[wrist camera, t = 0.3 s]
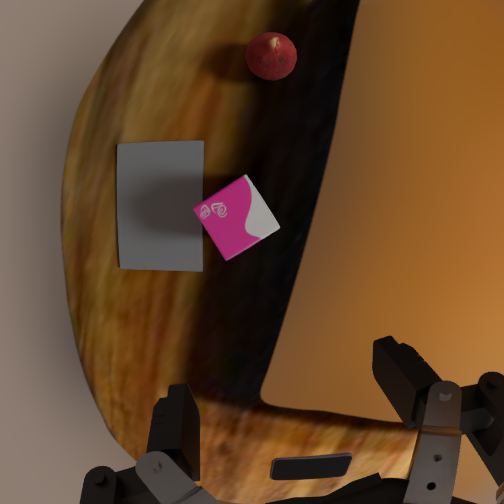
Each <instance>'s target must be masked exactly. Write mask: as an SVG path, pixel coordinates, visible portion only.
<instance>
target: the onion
mask: <svg viewBox="0 0 504 504" xmlns="http://www.w3.org/2000/svg"><path fill="white" fill-rule="evenodd" d="M245 60H246V62H247V64H248V67H249V69H250V70H251V71H252V72H253V73H254V74H255V75H256V76H258V77H260V78H262V79H266V80H278V79H281V78H284V77H285V76H287V75H288V74H289V73H290V72H291V71H292V70H293V69H294V66H295V63H296V60H297V54H296V48H295V47H294V45H293V43H292V42H291V41H290V40H289V39H288V38H287V37H286V36H285V35H282V34H279V33H269V32H267V33H264V34H261V35H258V36H257V37H255V38H254V39H253V40H252V41H250V43H249V45H248V47H247V48H246V51H245Z"/></svg>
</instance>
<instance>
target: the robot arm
mask: <svg viewBox="0 0 504 504" xmlns="http://www.w3.org/2000/svg"><path fill="white" fill-rule="evenodd" d="M372 370H373V375H374V377H375V380H376V381H377V383H378V384H379V386H380V387H381V389H382V390H383V392H384V393H385V395H386V397H387V398H388V400H389V401H390V403H391V404H392V406H393V407H394V409H395V410H396V412H397V413H398V415H399V417H400V418H401V420H402V421H403V423H404V424H405V426H406V428H407V429H410V428H412V427H415V426H417V428H418V429H419V431H418V435H417V439H416V444H415V448H414V451H413V455H412V459H411V463H410V466H409V470H408V473H407V476H406V479H400V478H382V479H381V477H380V475H379V473H375V474H373V475H370V476H367V477H364V478H361V479H358V480H355V481H352V482H350V483H349V484H347V485H345V486H343V487H342V488H340V489H338V490H336V491H334V492H332V493H330V494H329V495H326V496H320V497H295V498H289V499H285V500H280V501H275V502H269V503H265V504H476V503H473V502H469V501H466V500H463V499H460V498H457V497H454V496H452V493H453V488H454V483H455V478H456V472H457V466H458V459H459V452H460V445H461V437H462V435H463V434H466V436H467V437H468V439H469V440H470V442H471V443H472V445H473V447H474V448H475V450H476V451H477V452H478V454H479V456H480V457H481V459H482V461H483V462H484V464H485V465H486V467H487V469H488V470H489V472H490V473H491V475H492V476H493V478H494V480H495V481H496V483H497V485H498V486H499V488H498V490H497V493H496V501H497V504H504V375H502V374H500V373H498V372H487V373H484V374H483V375H482V376H481V377H480V379H479V381H478V384H474V385H470V386H464V387H459V385H457V384H456V383H454V382H452V381H443V380H442V379H441V378H440V377H439V376H438V375H437V374H436V373H435V371H434V370H433V369H432V368H431V367H430V366H429V365H428V364H427V362H425V361H424V359H423V358H422V357H421V356H419V354H418V352H416V350H415V349H414V348H413V347H411V346H409V345H407V344H405V343H401V344H398V343H397V342H396V341H395V340H394V338H393V337H392V336H387V337H384V338H380V339H377V340H375V341H374V343H373V362H372ZM152 417H153V418H152V420H151V426H150V432H149V439H148V445H147V451H146V454H144V455H143V456H141V457H140V458H139V460H138V461H137V463H136V466H134V467H132V468H129V469H125V470H122V471H118V472H114V471H113V470H112V469H111V468H109V467H107V466H98V467H95V468H93V469H91V470H90V471H89V472H88V473H87V474H86V476H85V479H84V483H83V488H82V493H81V499H80V504H221V503H220V502H219V501H217V500H216V499H215V498H214V497H213V496H212V495H211V494H210V493H208V492H207V491H206V490H205V489H204V488H203V487H201V486H200V487H199V486H198V485H197V484H196V483H194V482H193V481H200V415H199V410H198V407H197V405H196V402H195V400H194V398H193V395H192V393H191V390H190V388H189V385H188V384H187V383H181V384H174V385H170V386H169V389H168V396H167V397H165V398H160V399H159V400H158V402H157V403H156V405H155V406H154V409H153V415H152Z"/></svg>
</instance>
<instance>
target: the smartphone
mask: <svg viewBox="0 0 504 504" xmlns="http://www.w3.org/2000/svg"><path fill="white" fill-rule="evenodd" d="M351 460H352V455H351V453H342V454H330V455H319V456H306V457H288V458H277V459H275V460H274V461H273V466H272V472H271V479H273V480H303V479H319V478H332V477H341V476H344V475H345V474H346V472H347V470H348V468H349V465H350V463H351Z"/></svg>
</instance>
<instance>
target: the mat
mask: <svg viewBox="0 0 504 504" xmlns="http://www.w3.org/2000/svg"><path fill="white" fill-rule="evenodd" d="M203 164H204V141H165V142H143V143H127V144H118V148H117V220H118V243H119V259H120V269H142V270H173V271H203V224H202V223H201V221H200V219H199V218H198V216H197V215H196V213H195V212H194V210H193V208H194V207H195V206H197V205H198V204H200V203H201V202H203Z"/></svg>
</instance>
